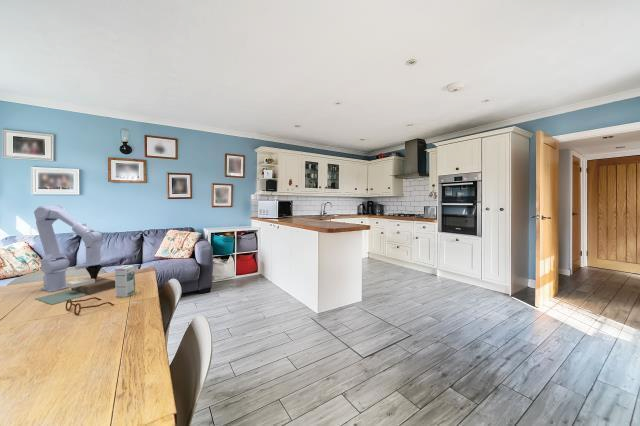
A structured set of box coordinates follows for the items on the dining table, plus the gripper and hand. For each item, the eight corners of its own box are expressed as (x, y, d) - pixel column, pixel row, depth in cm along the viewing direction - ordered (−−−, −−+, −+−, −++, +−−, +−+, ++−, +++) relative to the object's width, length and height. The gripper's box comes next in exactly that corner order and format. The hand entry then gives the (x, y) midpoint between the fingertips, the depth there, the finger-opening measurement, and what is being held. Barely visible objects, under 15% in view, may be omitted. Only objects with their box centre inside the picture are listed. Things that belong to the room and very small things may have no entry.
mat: (34, 299, 123) (34, 298, 123) (70, 290, 134) (70, 289, 134) (51, 304, 116) (51, 304, 116) (87, 295, 128) (87, 294, 128)
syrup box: (126, 297, 127) (126, 268, 126) (115, 296, 127) (114, 267, 126) (135, 292, 132) (134, 265, 132) (124, 292, 132) (123, 264, 132)
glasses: (64, 310, 112) (64, 299, 112) (101, 300, 123) (100, 290, 123) (78, 317, 106) (77, 305, 106) (115, 305, 117) (115, 295, 117)
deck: (71, 290, 135) (71, 282, 135) (98, 283, 146) (98, 276, 146) (88, 295, 129) (88, 287, 128) (115, 287, 140) (115, 280, 139)
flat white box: (66, 286, 129) (66, 282, 129) (88, 281, 138) (88, 277, 138) (73, 288, 127) (73, 284, 127) (95, 282, 135) (94, 278, 135)
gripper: (80, 257, 128) (81, 284, 129) (113, 252, 142) (113, 276, 142) (72, 256, 131) (73, 282, 132) (105, 251, 144) (106, 275, 145)
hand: (93, 279), depth 137 cm, fingers closed
